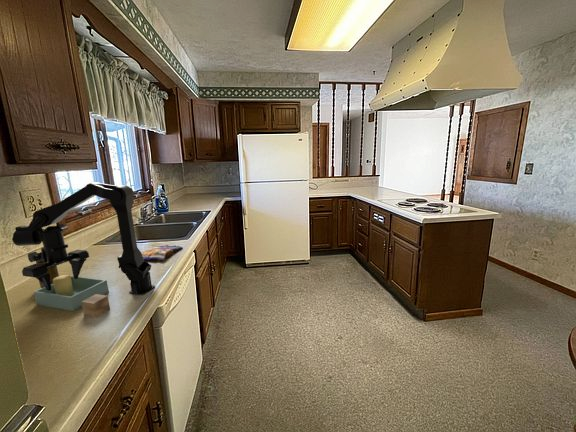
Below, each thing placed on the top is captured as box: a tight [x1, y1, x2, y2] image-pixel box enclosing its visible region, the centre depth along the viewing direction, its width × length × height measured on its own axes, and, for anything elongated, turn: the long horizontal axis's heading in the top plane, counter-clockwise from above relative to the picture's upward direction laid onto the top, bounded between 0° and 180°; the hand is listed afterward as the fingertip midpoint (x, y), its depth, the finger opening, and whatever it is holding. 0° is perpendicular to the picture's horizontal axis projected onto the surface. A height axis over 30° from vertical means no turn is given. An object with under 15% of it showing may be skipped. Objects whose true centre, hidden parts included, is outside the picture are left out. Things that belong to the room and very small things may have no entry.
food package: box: [140, 244, 184, 263], centre depth 142 cm, size 22×25×4 cm
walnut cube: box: [81, 294, 111, 318], centre depth 89 cm, size 5×5×5 cm
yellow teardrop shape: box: [53, 274, 74, 296], centre depth 99 cm, size 5×5×7 cm
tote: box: [33, 275, 110, 312], centre depth 98 cm, size 13×17×5 cm
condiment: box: [35, 261, 60, 291], centre depth 107 cm, size 7×8×12 cm
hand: (63, 284), depth 98 cm, fingers open, 9 cm apart
